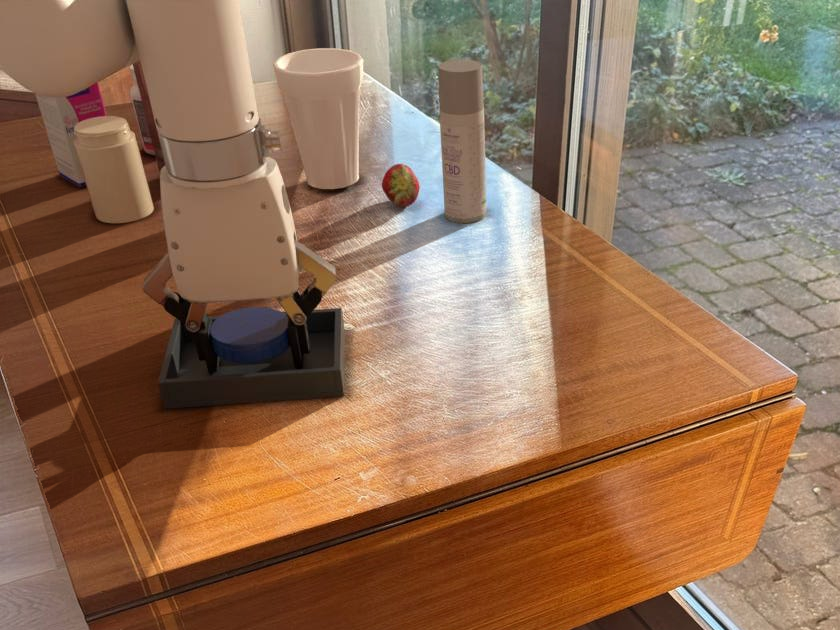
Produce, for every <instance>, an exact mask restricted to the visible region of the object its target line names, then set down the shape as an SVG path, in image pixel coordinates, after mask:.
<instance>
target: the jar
mask: <svg viewBox="0 0 840 630" xmlns="http://www.w3.org/2000/svg"><path fill="white" fill-rule="evenodd" d="M74 134H75V135H76V137H77V138H76V139H75V140H74V147H75V150H76V153H77V156H78V160H79V163H80V166H81V170H82V173H83V176H84V180H85V183H86V186H85V187H86V190H87V193H88V196H89V199H90V202H91V206H92V209H93V212H94V216H95V218H96V220H98V221H99V222H102V223H107V224H127V223H132V222H133V223H134V222H136V221H139V220H142V219H144V218H146V217H148V216H150V215H151V214H152V213H153V212H154V209H155V207H154V202H153V198H152V195H151V191H150V187H149V183H148V179H147V175H146V171H145V168H144V164H143V163H144V162H143V160H142V159H143V158H142V156H141V152H140V147H139V145H138V140H137V138H136V134H135V132H134V131H132V130H131V128H130V125H129V122H128V121H127V120H126V118H124V117H122V116H117V115H106V116H101V117H94V118H90V119H86V120H83V121H81V122H79V123H77V124H76V125H75V126H74Z"/></svg>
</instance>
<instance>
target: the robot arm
mask: <svg viewBox="0 0 840 630" xmlns="http://www.w3.org/2000/svg"><path fill="white" fill-rule="evenodd" d="M138 61H141V65H142V70H143V74H144V78H145V82H146V86H147V91H148V95H149V99H150V103H151V107H152V111H153V115H154V120H155V124H156V128H157V131H158V136H159V140H160V145H161V149H162V153H163V157H164V161H165V165H166V166H164V167H163V168H162V169H161V171H160V172H159V186H160V187H159V189H160V191H159V192H160V203H161V212H162V221H163V227H164V233H165V239H166V246H167V252H166V253H165V255H164V256H163V257H162V258H161V259H160V260H159V261H158V263H157V264H156V265H155V266H153V269H151V271H150V272H149V273H148V274H147V275H146V276H145V277H144V279H143V282H142V285H141V290H142V292H143V293H144V294H146V296H148V297H149V298H151V299H152V300H153V301H154V302H156V303H157V304H158V305H160V306H162V307H164V308H163V309H164V310H165V312H167V313H168V314H169V315H171V316H172V317H174V318H175V319H178V320H179V321H181V322H182V323H184V324H185V326H186V328H187V330H189V331H190V332H192V333H193V337H194V341H195V345H196V349H197V353H198V357H199V360H200V361H203V360H205V361H206V365H207V369H208V373H209V374H215V372H217V371H218V366H219V360H220V357H219V356H218V355H217V354H216V353H215V352H214V351H213V346H212V342H211V336H210V327H211V324H212V319H211V318H209V317H210V315H209V314H208V313H206V309H207V305H208V304H210V303H226V302H227V303H228V302H243V301H257V300H271V299H275V300H276V301H277V302H278V304H279V305H280V306H281V308H282V309H283V310H284V312H286V313H287V314H288V316H289V317H288V334H289V340H290V346H291V351H292V357H293V363H294V367H297V368H303V356H304V354H308V353H310V344H309V337H308V331H307V325H306V318H307V317H308V316H309V315H310V314H311V313H312V311H313V310H316V308H317V307H318V306H319V304H321V302H322V299H323V298H324V296H325V295H326V294H327V293H328V291H329V290H330V289H331V287H332V286H333V285H334V283H335V282H336V280H337V269H336V267H335V266H334V265H332V264H331V263H330V262H328V261H327V260H325V259H324V258H323V257H322V256H320V255H319V254H317V253H315V252H314V251H313V250H311V249H309V247H307V246H306V245H304V244H302V243H301V242H300V241H299V240H298V237H297V236H298V235H297V231H296V227H295V222H294V221H295V220H294V217H293V213H292V209H291V204H290V201H289V197H288V193H287V189H286V185H285V182H284V179H283V176H282V173H281V171H280V167H279V165H278V163H277V160H276V159H274V158H272V157H270V156H269V154H270V153H274V151H283V148H284V147H283V138H282V134H281V133H282V132H281V130H271V129H270V128H266V126H265V125H262V120H261V117H259V112H258V107H257V101H256V95H255V89H254V88H255V87H254V83H253V77H252V69H251V65H250V58H249V52H248V46H247V42H246V36H245V29H244V24H243V18H242V12H241V6H240V0H0V69H1V70H2V72H4V73H5V75H7V76H8V77H10V78H11V79H12V80H13V81H14V82H16V83H17V84H18V85H20V86H21V87H23V88H24V89H27V90H28V91H30V92H32V93H34V94H35V93H37V94H40V95H43V96H47V97H67V96H71V95H74V94H76V93H78V92H80V91H82V90H84V89H86V88H88V87H89V86H91V85H93V84H95V83H96V82H98V83H99V81H101V80H103V79H104V78H106V77H107V76H108V77H109V75H111V74H113V73H115V72H117V71H119V70H122V69H125V68H127V67H130V66H131V65H133V64H134V63H136V62H138ZM302 269H303V270H305V271H306V272H307V273H309V274H310V275H312V276H313V277H314V278H313V281H312V282H311V283H310V284H309V285H308V286H307V287H306V288H305V289H304V291H302V293H301V291H300V290H299V288H300V281H299V280H300V278H299V277H300V273H302ZM172 277H173V282H174V284H175V288H176V290H177V291H174V290H172V289H171V288H170V287H169V286H168V285H167V283H168V281H169V280H170V279H171V278H172Z"/></svg>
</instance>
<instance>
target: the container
mask: <svg viewBox="0 0 840 630" xmlns="http://www.w3.org/2000/svg"><path fill="white" fill-rule="evenodd" d="M437 69H438V99H439V101H438V102H439V103H438V105H439V130H440V149H441V150H440V151H441V163H442V164H441V167H442V184H443V185H442V186H443V187H442V188H443V204H444V205H443V206H444V217H445V219H447V220H448V221H450V222H453V223H457V224H471V223H475V222H476V223H477V222H479V221H481V220H483V219H484V218H485V217H487V184H486V183H487V181H486V180H487V179H486V177H487V176H486V175H487V174H486V137H485V135H486V134H485V129H486V128H485V103H484V102H485V101H484V83H483V81H484V80H483V64H482V63H481V62H480V61H478V60H474V59H467V58H456V59H449V60H445V61H442V62H441V63H440V64H439V65H438V68H437Z"/></svg>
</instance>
